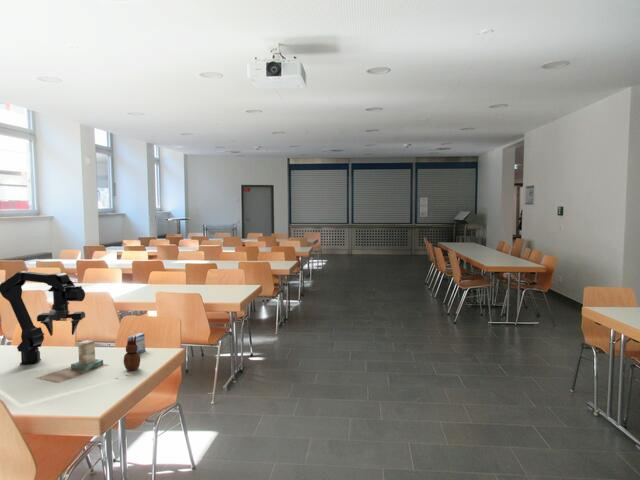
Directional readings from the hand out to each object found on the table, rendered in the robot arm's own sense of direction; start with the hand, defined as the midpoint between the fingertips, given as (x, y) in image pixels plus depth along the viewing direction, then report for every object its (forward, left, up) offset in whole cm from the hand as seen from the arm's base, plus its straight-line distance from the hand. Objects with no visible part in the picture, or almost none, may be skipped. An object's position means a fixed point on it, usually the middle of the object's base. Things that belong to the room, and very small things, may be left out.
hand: (62, 335), depth 212 cm
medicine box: (+29, +12, -13) cm, 34 cm away
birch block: (+14, -10, -12) cm, 21 cm away
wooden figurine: (+34, -14, -13) cm, 39 cm away
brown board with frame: (+10, -16, -13) cm, 23 cm away
